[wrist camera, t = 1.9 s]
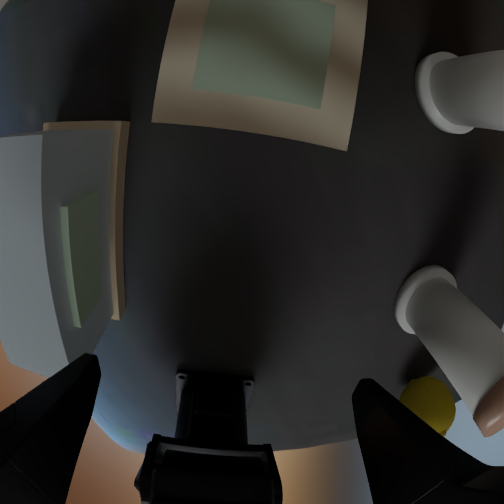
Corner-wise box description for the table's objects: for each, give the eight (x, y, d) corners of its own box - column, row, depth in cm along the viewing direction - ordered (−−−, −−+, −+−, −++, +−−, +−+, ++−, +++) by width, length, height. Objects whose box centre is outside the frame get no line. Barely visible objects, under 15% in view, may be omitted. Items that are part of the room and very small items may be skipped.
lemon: (431, 352, 24) (470, 408, 17) (433, 381, 26) (464, 431, 19) (384, 379, 25) (415, 442, 18) (391, 404, 27) (417, 460, 20)
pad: (339, 149, 17) (347, 151, 16) (156, 122, 16) (150, 122, 14) (361, -1, 13) (368, -8, 12) (190, -32, 12) (187, -41, 10)
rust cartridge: (434, 327, 23) (509, 428, 11) (383, 327, 22) (458, 452, 10) (459, 268, 21) (560, 360, 9) (409, 261, 20) (523, 375, 8)
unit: (125, 308, 20) (84, 394, 12) (62, 296, 20) (7, 367, 12) (130, 121, 15) (52, 119, 8) (55, 122, 15) (-36, 131, 7)
